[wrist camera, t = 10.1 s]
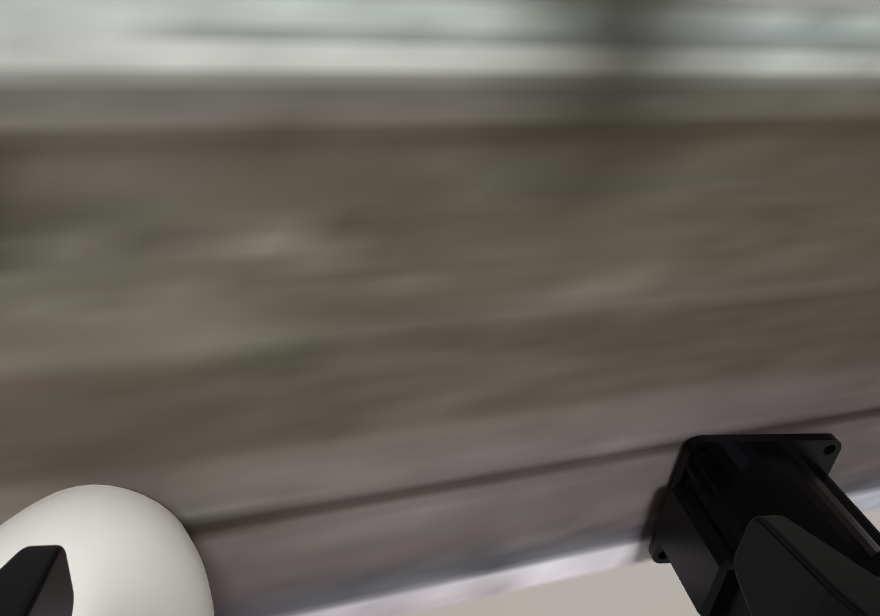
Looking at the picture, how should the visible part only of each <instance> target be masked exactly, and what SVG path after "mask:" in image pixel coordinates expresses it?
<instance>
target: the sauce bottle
mask: <svg viewBox="0 0 880 616" xmlns="http://www.w3.org/2000/svg"><path fill="white" fill-rule="evenodd" d="M39 545H60V546H62V547H63V548H64V549H65V551H66V555H67V560H68V565H69V570H70V575H71V581H72V586H73V591H74V605H73V612H72V616H215V615H214V607H213V601H212V596H211V591H210V587H209V583H208V579H207V575H206V571H205V568H204V565H203V562H202V560H201V557H200V555H199V553H198V551H197V549H196V547H195V545H194V544H193V542H192V540H191V538H190V537H189V535H188V533H187V532H186V530H185V528H184V527H183V525H182V524H181V522H180V521H179V520H178V519H177V518H176V517H175V516H174V515H173V514H172V513H171V512H170V511H169V510H167V509H166V508H165V507H163V506H162V505H161V504H159V503H158V502H156V501H154V500H152V499H150V498H148V497H146V496H145V495H142V494H139V493H137V492H134V491H131V490H129V489H124V488H120V487H115V486H110V485H94V484H92V485H83V486H75V487H71V488H68V489H64V490H61V491H58V492H55V493H53V494H51V495H49V496H47V497H44V498H42V499H40V500H39V501H37V502H35V503H33V504H31V505H30V506H28V507H27V508H25V509H23V510H22V511H20V512H19V513H17V514H16V515H15V516H13V517H12V518H10V519H9V520H7V521H6V522H4V523H3V524H1V525H0V568H2V567H3V566H4V565H5V564H6V563H7V562H8V561H9V560H10V559H11V558H12V557H13V556H14V555H15V554H16V553H17V552H19V551H20V550H21V549H23V548H25V547H27V546H39Z"/></svg>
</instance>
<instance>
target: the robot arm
mask: <svg viewBox="0 0 880 616" xmlns="http://www.w3.org/2000/svg"><path fill="white" fill-rule="evenodd" d="M700 448H701V449H700ZM699 449H700V450H699ZM840 450H841V443H840V442H839V441H838V440H837V439H836V438H835V437H834V436H833V435H832V434H828V433H823V434H753V435H700V436H696V437H693V438H692V439H690V440H689V441H688V442H687V444H686V446H685V449H684V451H683V454H682V457H681V460H680V463H679V465H678V468H677V471H676V474H675V477H674V479H673V482H672V485H671V488H670V490H669V492H668V495H667V498H666V501H665V504H664V506H663V509H662V512H661V515H660V518H659V520H658V523H657V526H656V529H655V533H654V535H653V538H652V541H651V544H650V547H649V553H650V555H651V557H652V559H653V560H654V562H656V563H671V564H672V566H673V568H674V570H675V572H676V574H677V575H678V577H679V579H680V581H681V583H682V585H683V586H684V588H685V590H686V592H687V594H688V595H689V597H690V599H691V601H692V603H693V604H694V606H695V608H696V610H697V612H698V613H699V614H700V615H701V616H880V532H879V531H878V530H877V529H876V528H875V527H874V526H873V524H872V523H871V522H870V521H869V520H868V519H867V518H866V517H865V516H864V514H863V513H862V512H861V511H860V510H859V509H858V508H857V507H856V506H855V504H854V503H853V502H852V501H851V500H850V499H849V498H848V497H847V496H846V495H845V493H844V492H843V491H842V490H841V489H840V488H839V487H838V486H837V485H836V484H835V482H834V481H833V480H832V479H831V478H830V477H829V476H828V474H829V472H830V470H831V468H832V466H833V464H834V462H835V460H836V458H837V456H838V454H839V452H840ZM73 605H74V591H73V586H72V581H71V575H70V570H69V565H68V560H67V555H66V551H65V549H64V548H63V547H62V546H60V545H39V546H27V547H25V548H23V549H21V550H20V551H19V552H17V553H16V554H15V555H14V556H13V557H12V558H11V559H10V560H9V561H8V562H7V563H6V564H5V565H4V566H3V567H2V568H0V616H72V612H73Z"/></svg>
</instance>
